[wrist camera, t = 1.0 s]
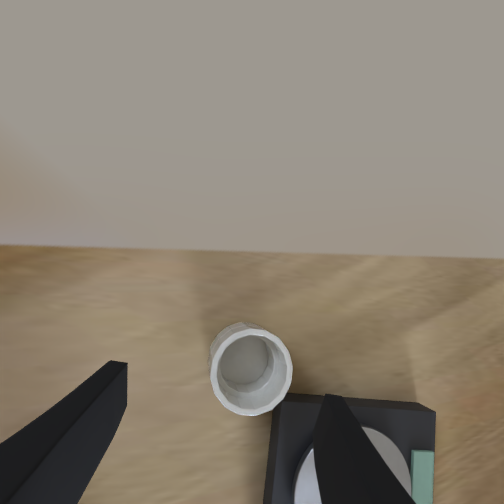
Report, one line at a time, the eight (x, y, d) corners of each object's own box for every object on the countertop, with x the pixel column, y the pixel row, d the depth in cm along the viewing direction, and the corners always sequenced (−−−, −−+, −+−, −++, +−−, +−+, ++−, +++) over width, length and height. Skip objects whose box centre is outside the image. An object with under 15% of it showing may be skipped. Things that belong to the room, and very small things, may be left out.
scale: (412, 543, 24) (436, 572, 22) (258, 545, 22) (265, 577, 20) (418, 402, 26) (441, 414, 24) (274, 391, 24) (283, 403, 21)
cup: (271, 394, 24) (287, 418, 19) (203, 389, 23) (204, 413, 19) (278, 325, 25) (296, 333, 20) (213, 318, 24) (217, 324, 19)
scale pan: (403, 557, 22) (408, 565, 21) (284, 560, 20) (287, 568, 20) (409, 426, 23) (414, 429, 22) (298, 419, 21) (301, 423, 21)
